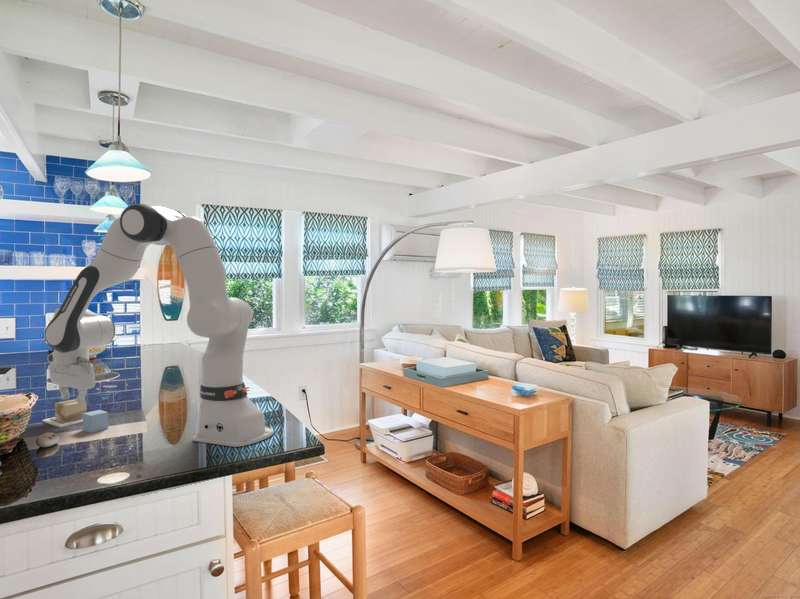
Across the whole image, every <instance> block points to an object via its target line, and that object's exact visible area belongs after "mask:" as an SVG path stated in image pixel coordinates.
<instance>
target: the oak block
mask: <svg viewBox="0 0 800 599" xmlns="http://www.w3.org/2000/svg"><path fill="white" fill-rule="evenodd" d="M87 409H88V408H87V401H86V400H85V402H84V403H78V402H77V398H75V399H68V400H64V401H59V402H54V410H55V411H54V413H55V414H54V417H55V419H57V420H60V421H63V422H68V421H72V420H77V419H81V418H83V413H87V412H88V410H87Z"/></svg>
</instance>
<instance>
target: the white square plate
mask: <svg viewBox="0 0 800 599" xmlns="http://www.w3.org/2000/svg"><path fill="white" fill-rule="evenodd" d="M42 422H43V423H46V424H48V425H52V426H54V427H57V428H63V427H69V426H72V425H77V424H83V418H81V419H77V420H72V421H68V422H63V421H60V420H57V419H55V416H53V417H50V418H45V419H42Z"/></svg>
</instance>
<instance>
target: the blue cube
mask: <svg viewBox="0 0 800 599" xmlns="http://www.w3.org/2000/svg"><path fill="white" fill-rule="evenodd" d="M108 429H109V412H108V411H105V410H102V409H97V410H91V411H87V413H83V422H82V431H84V432H88V433H90V434H92V433H96V432H101V431H104V430H108Z"/></svg>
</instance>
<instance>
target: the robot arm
mask: <svg viewBox="0 0 800 599" xmlns="http://www.w3.org/2000/svg"><path fill="white" fill-rule="evenodd" d="M152 244H153V245H156V246H157V245H158V246H171V248H172V249H173V251H174V253H175V255H176V257H175V258H177V262H178V264H179V267H180V270H181V272H182V274H183V275H182V276H183V278H184V280H185V283H186V286H187V290H188V297H189V298H188V300H189V310H188V312H187V315H186V323H187V326H188V328H189V330H190V331H191V333H193V334H194V335H196V336H198V337H201V338H206V339H208V342H207V347H206V349H205V351H204V352H203V354H202V357H201V384H200V385H199V386H200V387H199V388H200V389H199V398H201V401H200V404H199V407H198V410H197V417H196V418H197V419H196V429H195V434H194V435H193V437H192V441H193V442H198V443H206V444H212V445H220V446H226V447H234V448H235V447H236V448H237V447H243V446H248V445H251V444H252V445H253V444H255V443H258V442H261V441H263V440H266V439H268V438H270V437H271V436H273V435H274V434H275V433H274V429H272V428H269V427H268V426H266V420H265V415H264V412H262V411H261V409H260V408H259V407H258V406H257V405H256V404H255V403H254V402H253V401H252V400H251V399H250V398H249V396H248V392H249V391H250V386H247V387H246V384H245V382H244V377H243V376H244V372H243V371H244V369H243V367H244V352H245V351H244V350H245V346H246V341H247V336H248V331H249V326H250V324H251V323H252V320H253V317H254V316H253V315H254V314H253V310H252V307H251V306H250V304H249V303H248V302H246V301H245V300H243V299H240V298H238V297H234V296H233V297H229V296H228V293H227V292H228V291H227V286H226V278H227V269H226V268H225V266H224V262H223V260H222V257H221V255H220V253H219V250H218V248H217V247H218V246H217V245H216V243H215V240H214V238H213V236H212V235H211V233H210V231H209V230H208V228H207V226H206V224H205V223H204V221H202V220H201V219H200V218H198V217H196V216H188V215H186V214H184V213H183V212H181V211H178V210H173V209H170V208H167V207H163V206H160V205H152V204H151V205H150V204H149V205H148V204H144V203H137V204H132V205H131V204H130V205H128V206H127V207H125V208H124V209H123V210H122V212H121V213H120V216H119V217H116V218H115V219H114V220H113V221H112V223H111V225H110V226H109V228H108V229H107V231H106V233H105V235H104V238H103V239H102V242H101V245H100V247H99V250H98V251H97V253H96V255H95V257H94V258H93V260H92V261H91V262H90V263H89V264H88V265H87V266H86V267H85V268H83V269H81V271H79V273H78V275H77V276H76V277H75V280H74V281H73V284H72V285H71V287H70V288H69V291H68V292H67V294H66V296H65V298H64V300H63V302H62V304H61V306H58V307H57V308H56V309H55V311H54V314H53V318H52V319H51V320H50V322H49V323H48V325H47V326H46V328H45V331H44V339H45V343H47V345H48V346H49V347H50V348H51V349H53V351H52V352H51V353H49V354H48V355H47V362H49V378H50V379H49V380H50V382H51V384H52V385H57V386H58V390H59V392H60V396H61V400H64V401H67V400H70V399H71V394H70V392H69V388H70V389H71V388H73V389H76V390H77V392H78V393H77V396H76V399H77V402H78V403H84V402H85V401H86V396H87V393H88V390H90V389H94V388H95V386H96V377H95V376H96V375H95V369H94V366H93V364H92V363H91V362H90V348H94V347H100V346H104V345H107V344H110V343H111V342H112V341H113V339H114V338H115V336H116V325H115V323H114V321H113V320H112V319H111V318H110V317H109V316H106V315H102V314H99V313H96V312H93V311H91V310H90V309H89V306H90V304H91V302H92V300H93V299H94V298H95V296H96V295H98V294H99V293H100V292H101V291H104V290H107V289H108V288H111V287H113V286H116V285H117V286H118V285H119V284H122V283H125V282H127V281H130V280H132V279H133V278H134V276H135V275H136V274H137V272H138V270H139V268H140V266H141V262H142V260H143V258H144V255H145V251H146V249H147V248H148V246H150V245H152Z"/></svg>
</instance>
